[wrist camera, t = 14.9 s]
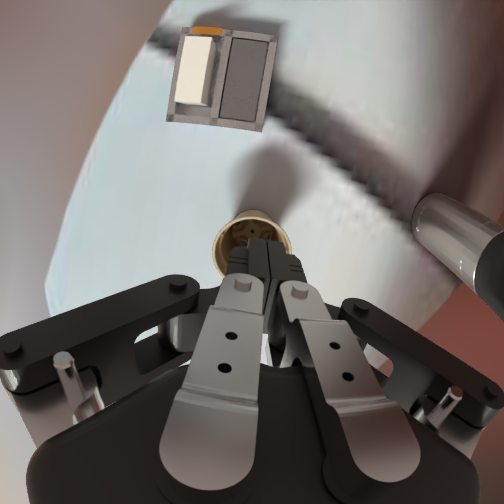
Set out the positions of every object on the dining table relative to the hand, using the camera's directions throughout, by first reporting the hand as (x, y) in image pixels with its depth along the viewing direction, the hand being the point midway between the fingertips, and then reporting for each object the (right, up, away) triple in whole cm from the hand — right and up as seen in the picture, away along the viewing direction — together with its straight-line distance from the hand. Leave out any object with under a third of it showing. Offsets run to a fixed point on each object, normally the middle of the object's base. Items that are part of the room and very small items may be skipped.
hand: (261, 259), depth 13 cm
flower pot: (0, +4, +30) cm, 31 cm away
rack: (-4, +23, +22) cm, 32 cm away
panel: (-7, +23, +21) cm, 32 cm away
